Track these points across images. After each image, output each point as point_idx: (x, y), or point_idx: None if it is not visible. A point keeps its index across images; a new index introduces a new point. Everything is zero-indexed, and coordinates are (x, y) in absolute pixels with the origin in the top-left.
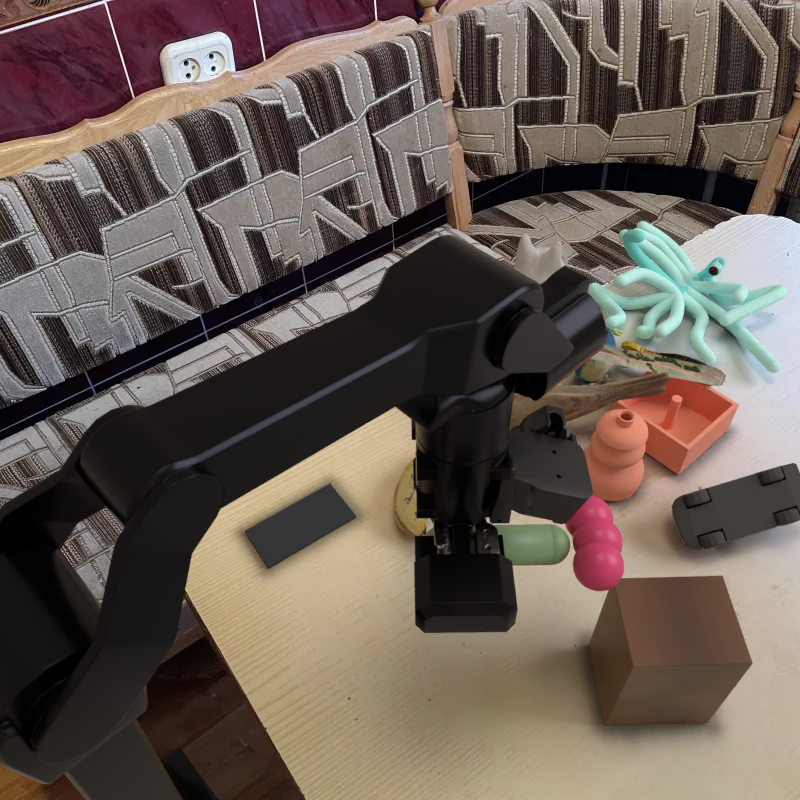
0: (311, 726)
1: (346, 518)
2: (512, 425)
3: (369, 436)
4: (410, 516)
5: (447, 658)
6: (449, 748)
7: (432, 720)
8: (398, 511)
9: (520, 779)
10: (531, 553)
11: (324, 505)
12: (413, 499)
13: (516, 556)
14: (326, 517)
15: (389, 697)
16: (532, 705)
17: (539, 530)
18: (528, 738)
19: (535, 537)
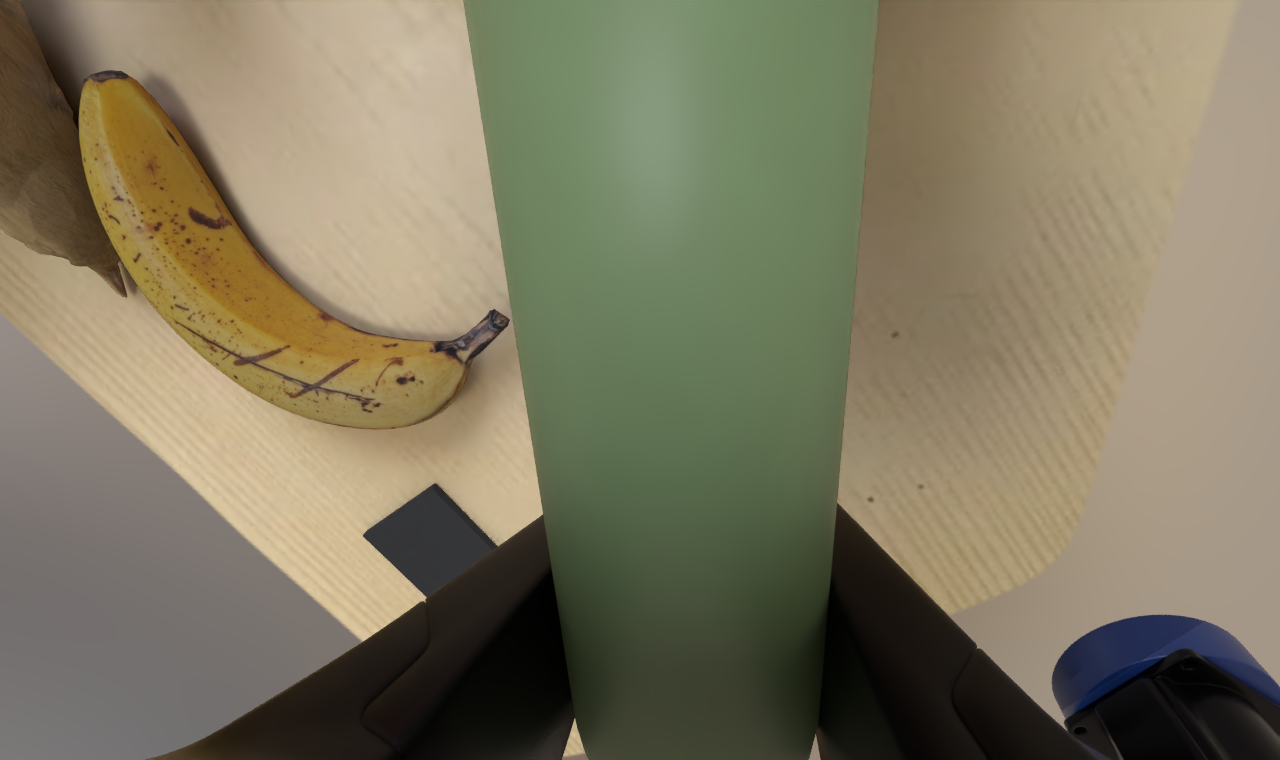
0: (924, 564)
1: (443, 506)
2: (3, 79)
3: (217, 453)
4: (414, 395)
5: None
6: (1032, 289)
7: (951, 328)
8: (405, 422)
9: (1168, 95)
10: (848, 120)
11: (420, 546)
12: (362, 392)
13: (847, 274)
14: (448, 542)
15: (879, 422)
16: (952, 45)
17: (584, 4)
18: (1051, 63)
19: (692, 69)
